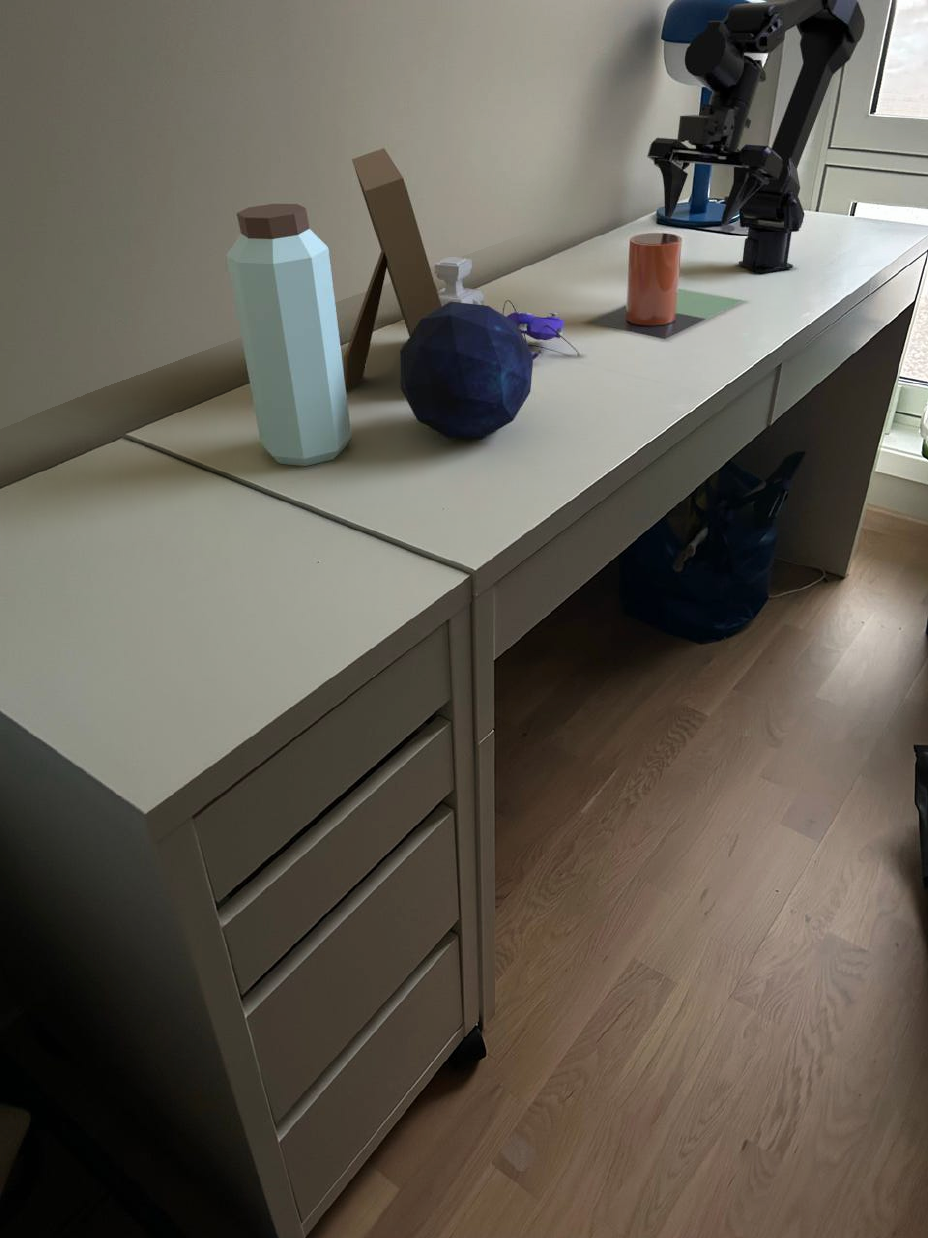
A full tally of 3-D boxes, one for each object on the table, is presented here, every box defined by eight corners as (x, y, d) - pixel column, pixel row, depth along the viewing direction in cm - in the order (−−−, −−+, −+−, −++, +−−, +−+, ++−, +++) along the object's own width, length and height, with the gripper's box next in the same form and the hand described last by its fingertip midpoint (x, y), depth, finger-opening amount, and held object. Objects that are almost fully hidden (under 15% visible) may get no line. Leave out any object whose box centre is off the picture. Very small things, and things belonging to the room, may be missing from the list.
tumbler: (643, 308, 141) (648, 230, 134) (685, 316, 137) (691, 236, 130) (616, 320, 137) (619, 240, 130) (657, 329, 132) (663, 247, 126)
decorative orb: (552, 357, 110) (470, 256, 103) (567, 407, 98) (474, 295, 91) (459, 432, 115) (375, 339, 108) (461, 488, 103) (367, 387, 96)
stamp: (418, 322, 141) (414, 263, 136) (441, 309, 146) (437, 252, 141) (471, 329, 137) (468, 269, 132) (492, 315, 142) (490, 257, 137)
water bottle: (266, 435, 109) (225, 203, 95) (353, 428, 109) (325, 196, 95) (258, 473, 101) (212, 225, 86) (352, 465, 101) (321, 217, 87)
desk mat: (668, 288, 149) (668, 287, 149) (742, 301, 142) (742, 300, 141) (588, 323, 137) (588, 321, 137) (665, 340, 129) (665, 338, 129)
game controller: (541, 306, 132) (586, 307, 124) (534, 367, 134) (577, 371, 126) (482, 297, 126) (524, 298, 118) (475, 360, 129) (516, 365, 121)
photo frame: (440, 338, 134) (428, 144, 120) (465, 393, 117) (454, 173, 102) (336, 349, 133) (311, 153, 118) (346, 406, 115) (317, 184, 101)
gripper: (645, 80, 131) (613, 198, 135) (769, 84, 120) (729, 212, 124) (682, 109, 140) (650, 219, 144) (800, 116, 129) (762, 234, 133)
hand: (694, 221), depth 136 cm, fingers open, 9 cm apart
